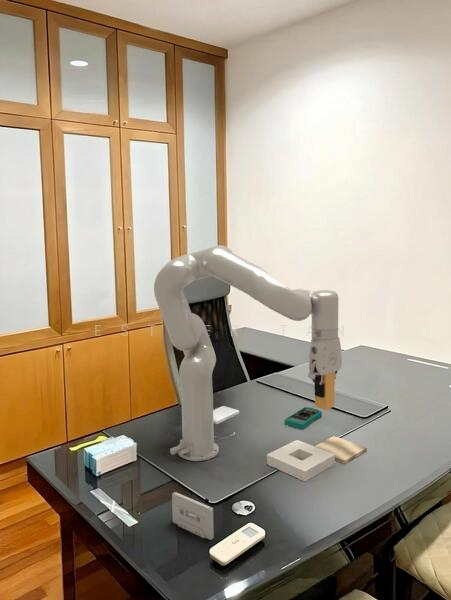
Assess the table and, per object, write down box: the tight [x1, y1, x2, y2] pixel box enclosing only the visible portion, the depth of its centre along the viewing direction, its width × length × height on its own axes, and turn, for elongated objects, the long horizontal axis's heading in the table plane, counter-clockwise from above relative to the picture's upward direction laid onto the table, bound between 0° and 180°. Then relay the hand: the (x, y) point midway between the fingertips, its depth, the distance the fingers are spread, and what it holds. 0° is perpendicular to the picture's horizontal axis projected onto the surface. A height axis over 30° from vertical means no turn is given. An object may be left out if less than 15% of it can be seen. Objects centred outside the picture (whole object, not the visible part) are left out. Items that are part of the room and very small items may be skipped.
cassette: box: [171, 491, 215, 541], centre depth 123 cm, size 12×2×8 cm, turn 53°
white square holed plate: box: [266, 439, 336, 482], centre depth 154 cm, size 14×14×3 cm
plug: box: [314, 372, 335, 410], centre depth 155 cm, size 4×4×11 cm
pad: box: [313, 435, 368, 465], centre depth 162 cm, size 12×12×1 cm
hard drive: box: [213, 405, 240, 425], centre depth 191 cm, size 2×8×12 cm
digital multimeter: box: [284, 406, 323, 431], centre depth 186 cm, size 7×15×3 cm, turn 143°
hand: (324, 393), depth 155 cm, fingers closed on plug, 4 cm apart
